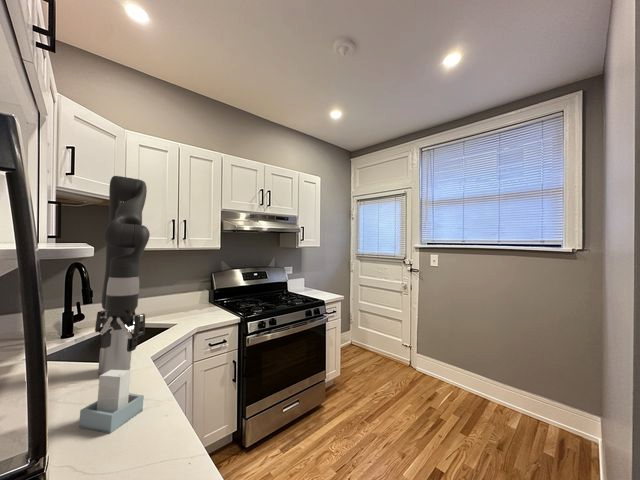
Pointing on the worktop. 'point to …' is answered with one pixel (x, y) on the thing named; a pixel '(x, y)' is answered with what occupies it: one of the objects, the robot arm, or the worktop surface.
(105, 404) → the skincare box
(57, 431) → the worktop surface
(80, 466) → the worktop surface
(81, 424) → the tray
